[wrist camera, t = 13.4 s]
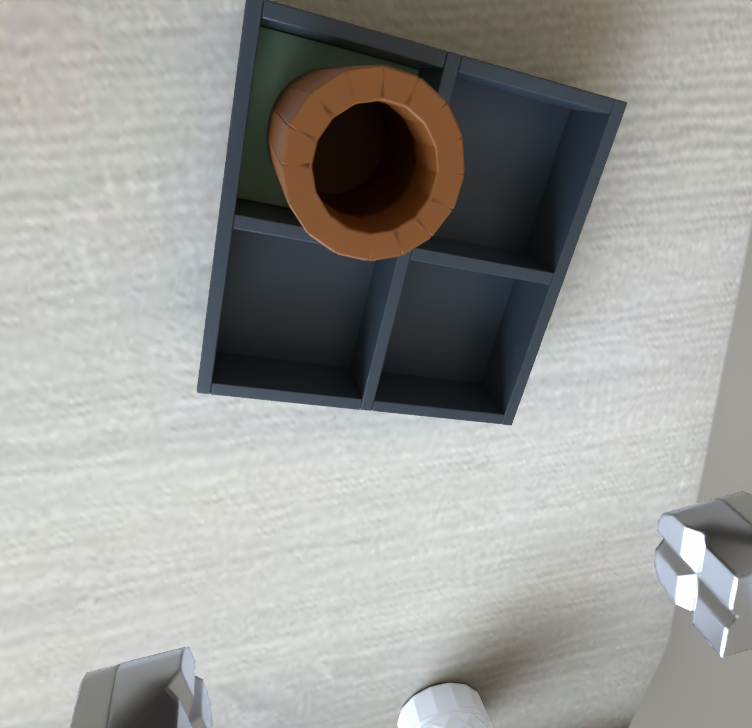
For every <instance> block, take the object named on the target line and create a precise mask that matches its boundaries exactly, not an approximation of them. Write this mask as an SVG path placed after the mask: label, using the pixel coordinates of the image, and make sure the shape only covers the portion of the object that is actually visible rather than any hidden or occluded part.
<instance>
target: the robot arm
mask: <svg viewBox="0 0 752 728" xmlns="http://www.w3.org/2000/svg"><path fill="white" fill-rule="evenodd" d="M657 531H658V532H659V534H660V535H661V536H662V537H663V538H664V539H663V540H662V542H661V543H660V544H659V546H658V547H657V548H656V550H655V561H654V565H655V569H656V572H657V575H658V579H659V581H660V583H661V585H662V586H663V588H664V590H665V591H666V593H667V594H668V595H669V596H670V598H671V599H672V600H673V601H674V603H675V604H677V605H679V606H681V607H684V608H686V609H688V610H690V611H692V612H693V625H694V626H695V627H696V629H697V630H698V631H699V632H700V633H701V634H702V636H703V637H704V638H705V639H706V640H707V642H708V643H709V644H710V645H711V646H712V647H713V649H714V650H715V651H716V652H717V653H718V654H719V656H720V657H721V658H722V657H726V656H729V655H732V654H736V653H740V652H743V651H747V650H750V649H752V495H751V494H748V493H746V492H743V491H741V492H737V493H734V494H730V495H727V496H723V497H719V498H716V499H714V500H708V501H704V502H701V503H697V504H694V505H690V506H687V507H684V508H680V509H677V510H673V511H670V512H666V513H663V514H662V516H661V517H660V519H659V520H658V528H657ZM70 728H213V722H212V713H211V704H210V700H209V696H208V692H207V688H206V686H205V683H204V681H203V679H201V678H199V677H197V676H195V659H194V657H193V655H192V652H191V650H190V648H189V647H183V648H179V649H175V650H171V651H167V652H163V653H159V654H155V655H151V656H147V657H143V658H139V659H135V660H131V661H127V662H123V663H121V664H117V665H113V666H109V667H105V668H101V669H98V670H94V671H90V672H87V673H86V675H85V676H84V678H83V680H82V681H81V683H80V686H79V691H78V695H77V699H76V703H75V707H74V712H73V716H72V720H71V724H70Z"/></svg>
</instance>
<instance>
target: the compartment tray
mask: <svg viewBox="0 0 752 728" xmlns="http://www.w3.org/2000/svg"><path fill="white" fill-rule="evenodd" d="M366 65H386V66H389V67H393V68H396V69H399V70H402V71H405V72H408V73H411V74H414V75H417V76H418V77H419V78H422V79H423V80H424V81H425V82H426V83H427V84H429V85H430V86H431V87H432V88H433V89H434V90H435V91H436V92H437V93H438V94H439V95H440V96H442V97H443V98H444V99H445V100H446V103H448V104H449V106H450V108H451V111H452V113H453V115H454V117H455V120H456V122H457V124H458V126H459V128H460V131H461V133H462V138H463V148H464V168H465V172H464V179H463V182H462V185H461V188H460V191H459V195H458V198H457V201H456V204H455V207H454V208H453V209H452V212H451V213H450V214H449V216H448V217H447V218H446V219H445V221H444V222H443V223H442V225H441V226H440V227H439V228H438V230H437V231H436V232H435V234H434V235H433V236H431V238H430V239H429V240H427V241H425V242H424V243H422V244H420V245H419V246H417V247H416V248H414V249H412V250H411V251H409V252H407V253H406V254H404V255H403V254H402V255H401V256H397V257H391V258H386V259H380V260H375V261H370V260H367V261H365V260H361V259H356V258H352V257H347V256H342V255H338V254H337V253H334V252H332V251H331V250H329V249H328V248H326V247H325V246H324V245H322V244H321V243H319V242H318V241H317V240H315V239H314V238H312V237H311V236H309V234H308V233H306V231H305V230H304V228H303V227H302V225H301V224H300V222H299V220H298V219H297V217H296V216H295V214H294V213H293V211H292V209H291V208H290V206H289V205H288V202H287V200H286V197H285V194H284V192H283V189H282V187H281V184H280V182H279V179H278V176H277V174H276V171H275V169H274V166H273V164H272V161H271V156H270V151H269V147H268V140H267V127H268V120H269V116H270V112H271V109H272V106H273V105H274V102H275V101H276V99H277V97H278V96H279V94H280V93H281V92H282V90H283V89H284V88H285V87H286V86H287V85H288V84H289V83H290V82H291V81H293V80H294V79H295V78H297V77H298V76H300V75H302V74H304V73H306V72H307V71H310V70H315V69H323V68H330V67H345V66H366ZM626 105H627V102H624V101H621V100H617V99H613V98H610V97H606V96H603V95H599V94H596V93H592V92H589V91H585V90H582V89H578V88H575V87H571V86H568V85H564V84H561V83H557V82H554V81H550V80H547V79H543V78H540V77H536V76H532V75H529V74H525V73H522V72H518V71H515V70H511V69H508V68H504V67H501V66H497V65H494V64H490V63H487V62H483V61H480V60H476V59H473V58H469V57H466V56H461V55H459V54H455V53H452V52H446V51H445V50H441V49H438V48H434V47H431V46H427V45H424V44H420V43H417V42H413V41H410V40H406V39H402V38H399V37H395V36H392V35H388V34H385V33H381V32H378V31H374V30H371V29H367V28H364V27H360V26H357V25H353V24H350V23H346V22H343V21H339V20H336V19H332V18H329V17H325V16H322V15H318V14H315V13H311V12H308V11H304V10H301V9H297V8H294V7H290V6H287V5H283V4H280V3H276V2H273V1H269V0H264V1H263V0H246V3H245V11H244V19H243V27H242V35H241V43H240V51H239V59H238V67H237V75H236V83H235V91H234V99H233V107H232V115H231V123H230V131H229V139H228V147H227V155H226V162H225V170H224V178H223V186H222V194H221V202H220V210H219V218H218V226H217V234H216V242H215V250H214V258H213V266H212V274H211V282H210V290H209V298H208V306H207V314H206V322H205V330H204V338H203V345H202V353H201V361H200V369H199V377H198V385H197V393H204V394H210V393H211V394H212V395H222V396H232V397H241V398H251V399H261V400H271V401H280V402H290V403H300V404H309V405H319V406H329V407H339V408H348V409H358V410H359V409H361V410H369V411H371V410H372V411H379V412H389V413H399V414H408V415H418V416H428V417H437V418H447V419H457V420H466V421H476V422H486V423H496V424H504V425H512V423H513V420H514V417H515V414H516V412H517V409H518V406H519V403H520V400H521V398H522V395H523V392H524V389H525V386H526V384H527V381H528V378H529V375H530V372H531V370H532V367H533V364H534V361H535V359H536V356H537V353H538V350H539V347H540V345H541V342H542V339H543V336H544V333H545V331H546V328H547V325H548V322H549V320H550V317H551V314H552V311H553V308H554V306H555V303H556V300H557V297H558V294H559V292H560V289H561V286H562V283H563V281H564V278H565V275H566V272H567V269H568V267H569V264H570V261H571V258H572V255H573V253H574V250H575V247H576V244H577V242H578V239H579V236H580V233H581V230H582V228H583V225H584V222H585V219H586V216H587V214H588V211H589V208H590V205H591V203H592V200H593V197H594V194H595V191H596V189H597V186H598V183H599V180H600V177H601V175H602V172H603V169H604V166H605V164H606V161H607V158H608V155H609V152H610V150H611V147H612V144H613V141H614V138H615V136H616V133H617V130H618V127H619V124H620V122H621V119H622V116H623V113H624V111H625V108H626Z"/></svg>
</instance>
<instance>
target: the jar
mask: <svg viewBox="0 0 752 728" xmlns="http://www.w3.org/2000/svg"><path fill="white" fill-rule="evenodd" d="M267 140H268V147H269V151H270V156H271V161H272V164H273V166H274V169H275V171H276V174H277V176H278V179H279V182H280V184H281V187H282V189H283V192H284V194H285V197H286V200H287V202H288V205H289V206H290V208H291V209H292V211H293V213H294V214H295V216H296V217H297V219H298V220H299V222H300V224H301V225H302V227H303V228H304V230H305V231H306V233H308V234H309V236H311V237H312V238H314V239H315V240H317V241H318V242H319V243H321V244H322V245H324V246H325V247H326V248H328V249H329V250H331V251H332V252H334V253H337V254H338V255H342V256H347V257H352V258H356V259H361V260H365V261H367V260H370V261H375V260H380V259H386V258H391V257H397V256H401V255H402V254H403V255H404V254H406V253H407V252H409V251H411V250H412V249H414V248H416V247H417V246H419V245H420V244H422V243H424V242H425V241H427V240H429V239H430V238H431V236H433V235H434V234H435V232H436V231H437V230H438V228H439V227H440V226H441V225H442V223H443V222H444V221H445V219H446V218H447V217H448V216H449V214H450V213H451V212H452V209H453V208H454V207H455V204H456V201H457V198H458V195H459V191H460V188H461V185H462V182H463V179H464V172H465V168H464V148H463V138H462V133H461V131H460V128H459V126H458V124H457V122H456V120H455V117H454V115H453V113H452V111H451V108H450V106H449V104H448V103H446V100H445V99H444V98H443V97H442V96H440V95H439V94H438V93H437V92H436V91H435V90H434V89H433V88H432V87H431V86H430V85H429V84H427V83H426V82H425V81H424V80H423V79H422V78H419V77H418V76H417V75H414V74H411V73H408V72H405V71H402V70H399V69H396V68H393V67H389V66H386V65H366V66H345V67H330V68H323V69H315V70H310V71H307V72H306V73H304V74H302V75H300V76H298V77H297V78H295V79H294V80H293V81H291V82H290V83H289V84H288V85H287V86H286V87H285V88H284V89H283V90H282V92H281V93H280V94H279V96H278V97H277V99H276V101H275V102H274V105H273V106H272V109H271V112H270V116H269V120H268V127H267Z"/></svg>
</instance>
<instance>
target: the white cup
mask: <svg viewBox="0 0 752 728" xmlns="http://www.w3.org/2000/svg"><path fill="white" fill-rule="evenodd" d="M398 728H494V727H493V725H492V724H491V721H490V719H489V717H488V715H487V712H486V710H485V708H484V706H483V703H482V701H481V699H480V696H479V694H478V692H476V691H475V690H473V689H472V688H470V687H469V686H467V685H466V684H458V683H445V684H440V685H436V686H431V687H429V688H427V689H425V690H423V691H421V692H420V693H418V694H416V695H414V696H413V697H412V698H411V699H410V700H409V701H408V702H407V703H406V705H405V706H404V707H403V708H402V709H401V712H400V716H399V720H398Z"/></svg>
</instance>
